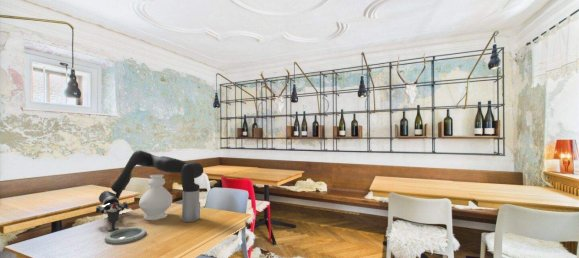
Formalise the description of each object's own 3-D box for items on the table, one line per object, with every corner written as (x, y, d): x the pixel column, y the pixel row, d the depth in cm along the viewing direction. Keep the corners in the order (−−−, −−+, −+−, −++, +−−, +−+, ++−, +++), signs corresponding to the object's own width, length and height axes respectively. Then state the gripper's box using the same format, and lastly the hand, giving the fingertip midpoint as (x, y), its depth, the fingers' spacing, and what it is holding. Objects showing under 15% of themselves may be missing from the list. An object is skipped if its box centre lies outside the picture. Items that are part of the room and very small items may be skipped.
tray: (130, 227, 131) (130, 224, 131) (154, 232, 125) (154, 229, 125) (95, 240, 115) (96, 236, 116) (121, 246, 109) (121, 242, 109)
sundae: (112, 233, 124) (113, 203, 125) (101, 231, 126) (102, 202, 126) (124, 228, 131) (124, 199, 131) (113, 227, 132) (114, 199, 132)
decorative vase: (152, 211, 160) (153, 172, 161) (177, 212, 157) (178, 173, 158) (131, 220, 142) (132, 177, 143) (159, 222, 140) (160, 178, 140)
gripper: (95, 199, 141) (96, 205, 128) (125, 195, 150) (128, 201, 137) (95, 212, 141) (96, 220, 128) (125, 207, 150) (128, 214, 137)
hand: (113, 210), depth 133 cm, fingers open, 8 cm apart
